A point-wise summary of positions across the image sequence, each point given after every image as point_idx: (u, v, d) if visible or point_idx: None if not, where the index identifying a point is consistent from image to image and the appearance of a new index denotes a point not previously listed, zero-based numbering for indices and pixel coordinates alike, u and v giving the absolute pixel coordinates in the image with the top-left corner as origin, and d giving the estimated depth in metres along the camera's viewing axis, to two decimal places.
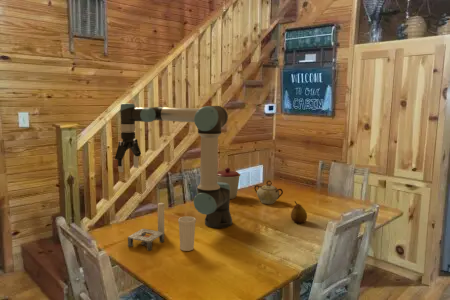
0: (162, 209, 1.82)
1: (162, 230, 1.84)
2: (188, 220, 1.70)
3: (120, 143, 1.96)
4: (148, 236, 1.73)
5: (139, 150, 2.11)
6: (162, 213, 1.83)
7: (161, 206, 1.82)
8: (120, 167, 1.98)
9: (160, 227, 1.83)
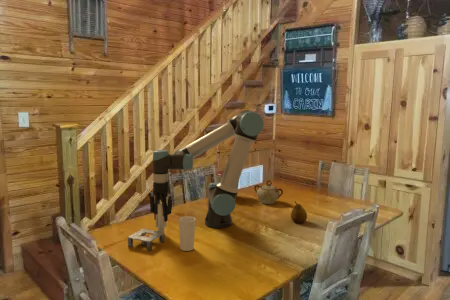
0: (162, 209, 1.82)
1: (162, 230, 1.84)
2: (188, 220, 1.70)
3: None
4: (148, 236, 1.73)
5: (168, 209, 1.81)
6: (162, 213, 1.83)
7: (161, 206, 1.82)
8: None
9: (160, 227, 1.83)
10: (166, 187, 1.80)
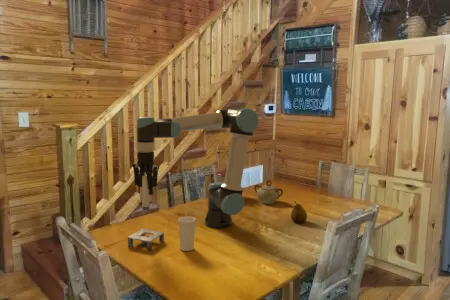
0: (147, 181, 1.68)
1: (147, 204, 1.70)
2: (188, 220, 1.70)
3: None
4: (148, 236, 1.73)
5: (153, 181, 1.67)
6: (147, 186, 1.69)
7: (146, 178, 1.68)
8: None
9: (145, 201, 1.69)
10: (151, 157, 1.66)
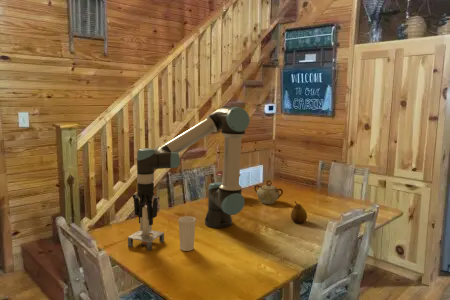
0: (147, 213, 1.70)
1: (147, 235, 1.72)
2: (188, 220, 1.70)
3: None
4: None
5: (153, 212, 1.68)
6: (147, 217, 1.70)
7: (146, 210, 1.70)
8: None
9: (145, 232, 1.71)
10: (151, 188, 1.68)
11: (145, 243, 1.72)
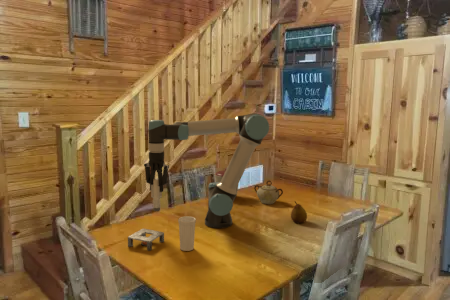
0: (158, 184, 1.83)
1: (158, 205, 1.84)
2: (188, 220, 1.70)
3: None
4: None
5: (163, 179, 1.80)
6: None
7: (157, 181, 1.82)
8: None
9: (156, 202, 1.84)
10: (162, 157, 1.80)
11: (145, 243, 1.72)
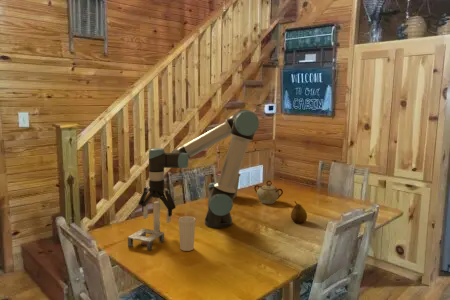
0: (158, 208, 1.84)
1: (158, 228, 1.86)
2: (188, 220, 1.70)
3: None
4: None
5: (170, 204, 1.81)
6: (158, 212, 1.85)
7: (157, 205, 1.84)
8: None
9: (156, 225, 1.85)
10: (162, 185, 1.82)
11: (145, 243, 1.72)
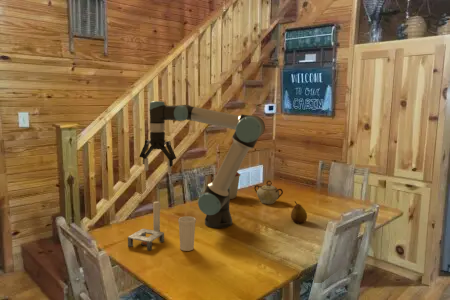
0: (158, 208, 1.84)
1: (158, 228, 1.86)
2: (188, 220, 1.70)
3: None
4: None
5: (171, 154, 1.88)
6: (158, 212, 1.85)
7: (157, 205, 1.84)
8: None
9: (156, 225, 1.85)
10: (163, 136, 1.88)
11: (145, 243, 1.72)
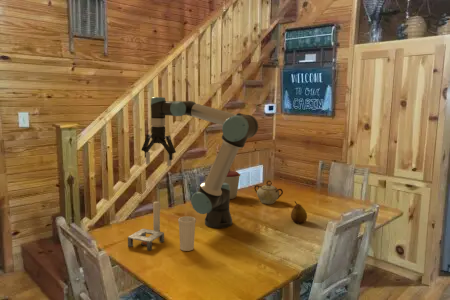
0: (158, 208, 1.84)
1: (158, 228, 1.86)
2: (188, 220, 1.70)
3: None
4: None
5: (171, 148, 1.95)
6: (158, 212, 1.85)
7: (157, 205, 1.84)
8: None
9: (156, 225, 1.85)
10: (163, 131, 1.96)
11: (145, 243, 1.72)
